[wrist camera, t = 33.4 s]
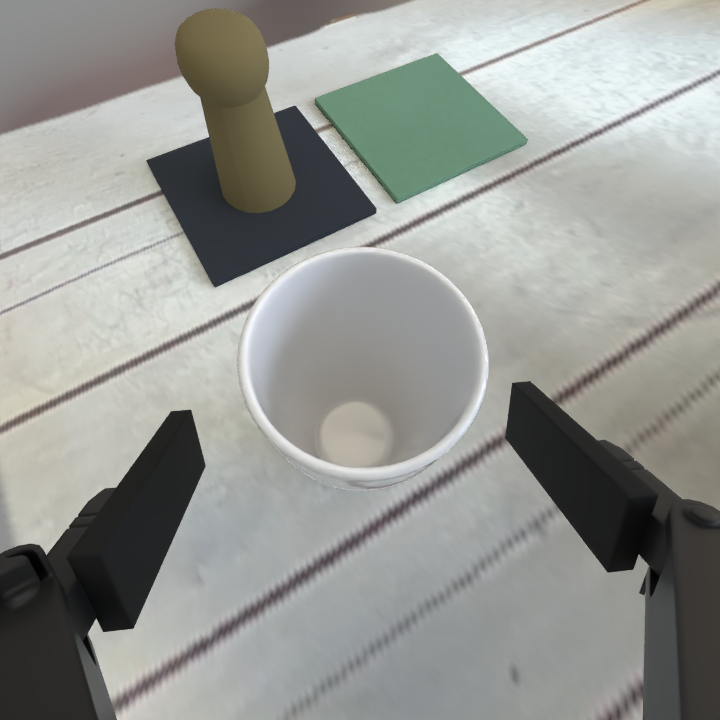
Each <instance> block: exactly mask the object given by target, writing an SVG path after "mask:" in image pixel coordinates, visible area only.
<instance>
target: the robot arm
mask: <svg viewBox="0 0 720 720" xmlns="http://www.w3.org/2000/svg"><path fill="white" fill-rule="evenodd" d="M505 438H506V439H507V441H508V442H509V443H510V445H511V446H512V447H513V449H514V450H515V451H516V453H517V454H518V455H519V457H520V458H521V459H522V460H523V462H524V463H525V464H526V466H527V467H528V468H529V470H530V471H531V472H532V474H533V475H534V476H535V478H536V479H537V480H538V482H539V483H540V484H541V485H542V487H543V488H544V489H545V491H546V492H547V493H548V495H549V496H550V497H551V499H552V500H553V501H554V503H555V504H556V505H557V506H558V508H559V509H560V510H561V512H562V513H563V514H564V516H565V517H566V518H567V520H568V521H569V522H570V524H571V525H572V526H573V528H574V529H575V530H576V531H577V533H578V534H579V535H580V537H581V538H582V539H583V541H584V542H585V543H586V545H587V546H588V547H589V549H590V550H591V551H592V552H593V554H594V555H595V556H596V558H597V559H598V560H599V562H600V563H601V564H602V566H603V567H604V568H605V570H606V571H607V572H617V571H625V570H633V569H634V566H635V563H636V560H637V557H638V554H639V555H640V556H641V557H642V558H643V559H644V560H645V562H646V563H647V564H648V565H649V567H648V570H647V573H646V576H645V578H644V581H643V584H642V587H641V589H640V592H639V593H640V594H642V595H644V594H645V592H646V595H645V643H644V691H643V720H720V511H719V510H717V509H715V508H714V507H712V506H709V505H707V504H704V503H702V502H698V501H694V500H689V499H681V498H680V497H679V496H678V495H677V494H675V493H674V492H673V491H672V490H671V489H669V488H668V487H667V486H666V485H665V484H663V483H662V482H661V481H660V480H659V479H657V478H656V477H655V476H654V475H653V474H652V473H650V472H649V471H648V470H647V469H646V470H645V469H644V467H643V466H642V465H641V464H640V463H638V462H637V461H634V458H632V457H631V456H630V455H629V454H628V453H626V452H625V451H624V450H623V449H622V448H620V447H618V446H616V445H614V444H612V443H610V442H608V441H606V440H600V441H597V440H596V439H595V438H594V437H593V436H591V435H590V434H589V433H588V432H587V431H586V430H585V429H583V428H582V427H581V426H580V425H579V424H578V423H577V422H576V421H574V420H573V419H572V418H571V417H570V416H569V415H568V414H566V413H565V412H564V411H563V410H562V409H561V408H560V407H559V406H557V405H556V404H555V403H554V402H553V401H552V400H551V399H549V398H548V397H547V396H546V395H545V394H544V393H543V392H542V391H540V390H539V389H538V388H537V387H536V386H535V385H534V384H532V383H531V382H530V381H528V382H516V383H512V389H511V397H510V405H509V413H508V421H507V429H506V437H505ZM204 468H205V462H204V458H203V454H202V450H201V446H200V442H199V438H198V434H197V431H196V427H195V423H194V419H193V415H192V411H191V410H182V411H171V412H170V414H169V415H168V417H167V418H166V419H165V421H164V422H163V424H162V425H161V426H160V428H159V429H158V431H157V432H156V433H155V435H154V436H153V437H152V439H151V440H150V442H149V443H148V444H147V446H146V447H145V449H144V450H143V451H142V453H141V454H140V456H139V457H138V458H137V460H136V461H135V463H134V464H133V465H132V467H131V468H130V469H129V471H128V472H127V474H126V475H125V476H124V478H123V479H122V481H121V482H120V483H119V485H118V486H117V488H106V489H104V490H102V491H101V492H100V493H98V494H97V495H96V496H95V497H93V498H92V499H91V500H89V501H88V503H87V504H86V505H85V507H84V508H83V509H82V510H81V512H80V513H79V514H78V517H76V518H75V519H74V521H73V522H72V523H71V525H70V526H69V529H67V530H66V531H65V532H64V533H63V535H62V536H61V537H60V539H59V540H58V541H57V542H56V544H55V545H54V546H53V548H52V549H51V550H50V551H49V553H48V554H47V555H46V554H45V552H44V550H43V549H42V548H41V547H40V546H39V545H35V544H26V545H21V546H17V547H14V548H12V549H9V550H7V551H4V552H3V553H1V554H0V720H117V718H116V715H115V712H114V709H113V706H112V703H111V700H110V697H109V694H108V691H107V688H106V685H105V682H104V679H103V676H102V672H101V669H100V666H99V663H98V660H97V657H96V654H95V651H94V648H93V645H92V642H91V640H90V638H89V636H88V632H89V630H90V628H91V626H92V625H93V623H94V621H95V619H96V618H97V620H98V622H99V624H100V626H101V628H102V630H103V632H108V631H116V630H125V629H133V628H134V626H135V624H136V622H137V619H138V617H139V615H140V613H141V610H142V608H143V606H144V604H145V601H146V599H147V597H148V595H149V592H150V590H151V588H152V586H153V583H154V581H155V579H156V577H157V574H158V572H159V570H160V567H161V565H162V563H163V561H164V558H165V556H166V554H167V552H168V549H169V547H170V545H171V543H172V540H173V538H174V536H175V534H176V531H177V529H178V527H179V525H180V522H181V520H182V518H183V516H184V513H185V511H186V509H187V507H188V504H189V502H190V500H191V498H192V495H193V493H194V491H195V489H196V486H197V484H198V482H199V480H200V477H201V475H202V473H203V471H204Z"/></svg>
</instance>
